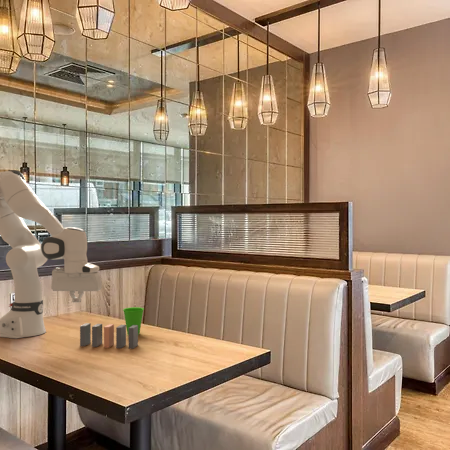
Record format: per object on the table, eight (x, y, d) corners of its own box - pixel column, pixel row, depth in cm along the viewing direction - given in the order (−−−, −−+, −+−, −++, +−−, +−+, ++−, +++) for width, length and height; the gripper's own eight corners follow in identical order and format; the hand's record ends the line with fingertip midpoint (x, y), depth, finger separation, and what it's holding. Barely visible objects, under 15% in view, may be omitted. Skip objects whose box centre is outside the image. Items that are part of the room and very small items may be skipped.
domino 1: (80, 346, 179) (80, 325, 179) (85, 342, 184) (85, 323, 184) (84, 346, 179) (84, 326, 179) (90, 343, 184) (90, 323, 184)
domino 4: (116, 348, 177) (116, 327, 177) (121, 344, 182) (121, 324, 182) (121, 348, 176) (121, 327, 176) (125, 344, 181) (126, 324, 181)
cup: (146, 332, 202) (146, 307, 202) (140, 337, 193) (140, 311, 193) (126, 331, 203) (126, 307, 203) (120, 336, 194) (120, 311, 194)
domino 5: (128, 348, 176) (128, 327, 176) (133, 345, 181) (133, 325, 181) (133, 348, 176) (133, 328, 176) (137, 345, 180) (137, 325, 180)
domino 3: (104, 347, 177) (104, 326, 177) (109, 344, 182) (109, 324, 182) (108, 347, 177) (108, 327, 177) (113, 344, 182) (113, 324, 182)
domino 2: (92, 346, 178) (92, 326, 178) (97, 343, 183) (97, 323, 183) (96, 347, 178) (96, 326, 178) (102, 343, 183) (102, 323, 183)
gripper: (47, 268, 180) (48, 303, 180) (96, 268, 177) (96, 303, 177) (56, 266, 187) (56, 300, 187) (103, 266, 183) (103, 301, 183)
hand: (76, 302), depth 182 cm, fingers closed
